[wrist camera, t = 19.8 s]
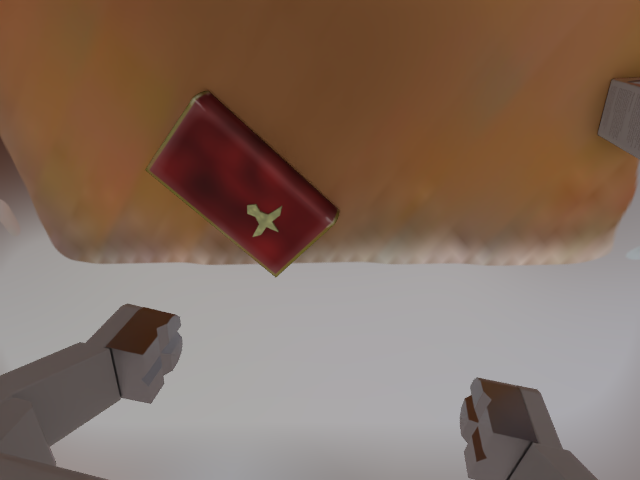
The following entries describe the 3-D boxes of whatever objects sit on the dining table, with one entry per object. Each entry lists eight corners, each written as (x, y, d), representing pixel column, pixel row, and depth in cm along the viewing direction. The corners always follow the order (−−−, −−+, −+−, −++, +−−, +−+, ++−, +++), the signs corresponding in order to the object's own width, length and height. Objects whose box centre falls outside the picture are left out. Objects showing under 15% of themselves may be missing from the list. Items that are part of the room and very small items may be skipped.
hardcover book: (210, 88, 45) (194, 94, 42) (340, 208, 50) (336, 223, 46) (162, 160, 51) (143, 170, 47) (283, 261, 55) (275, 278, 52)
